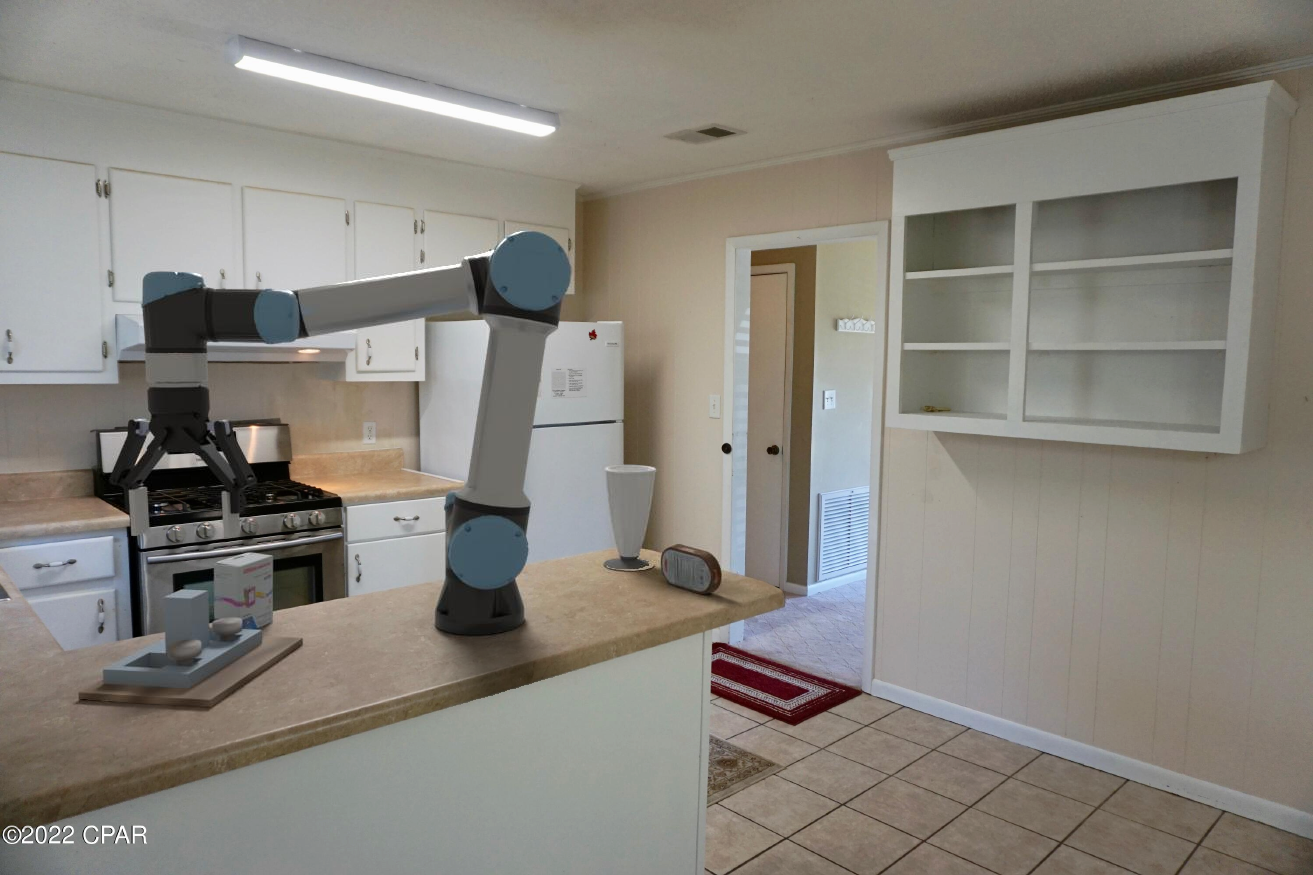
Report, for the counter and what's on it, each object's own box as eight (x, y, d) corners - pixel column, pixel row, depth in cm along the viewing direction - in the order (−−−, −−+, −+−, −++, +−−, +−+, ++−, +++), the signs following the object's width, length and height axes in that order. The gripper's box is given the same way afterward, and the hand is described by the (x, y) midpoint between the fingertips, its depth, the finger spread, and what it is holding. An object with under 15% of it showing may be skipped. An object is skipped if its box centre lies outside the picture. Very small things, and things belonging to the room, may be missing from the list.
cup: (661, 569, 183) (664, 471, 181) (610, 573, 179) (612, 472, 177) (645, 557, 194) (648, 464, 192) (597, 560, 190) (598, 465, 188)
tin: (722, 596, 164) (723, 553, 164) (711, 599, 162) (712, 556, 161) (668, 580, 175) (669, 540, 174) (657, 582, 173) (658, 542, 172)
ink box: (240, 637, 135) (238, 565, 134) (213, 635, 136) (211, 562, 135) (275, 621, 143) (273, 553, 142) (249, 618, 144) (247, 550, 143)
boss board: (302, 643, 133) (302, 609, 132) (210, 707, 109) (209, 665, 108) (193, 638, 134) (192, 604, 133) (78, 699, 110) (76, 658, 110)
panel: (262, 642, 130) (260, 578, 129) (189, 688, 112) (186, 614, 111) (187, 638, 131) (185, 575, 130) (103, 683, 113) (100, 610, 112)
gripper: (278, 384, 120) (284, 531, 122) (112, 383, 122) (121, 527, 124) (249, 387, 113) (255, 543, 115) (73, 385, 115) (83, 538, 117)
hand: (186, 535), depth 120 cm, fingers open, 13 cm apart
